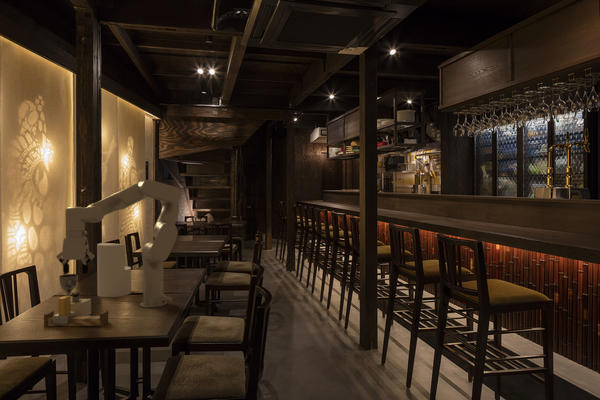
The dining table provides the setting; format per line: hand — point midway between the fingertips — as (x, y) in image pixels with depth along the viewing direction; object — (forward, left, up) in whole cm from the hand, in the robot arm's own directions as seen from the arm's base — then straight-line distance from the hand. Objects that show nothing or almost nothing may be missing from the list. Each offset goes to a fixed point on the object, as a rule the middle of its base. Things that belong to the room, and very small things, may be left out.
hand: (75, 273), depth 185 cm
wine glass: (+14, -20, -20) cm, 32 cm away
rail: (-6, +11, -20) cm, 23 cm away
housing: (0, 0, -20) cm, 20 cm away
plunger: (0, 0, -16) cm, 16 cm away
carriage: (-1, +11, -20) cm, 23 cm away
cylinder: (+2, -45, -20) cm, 49 cm away
